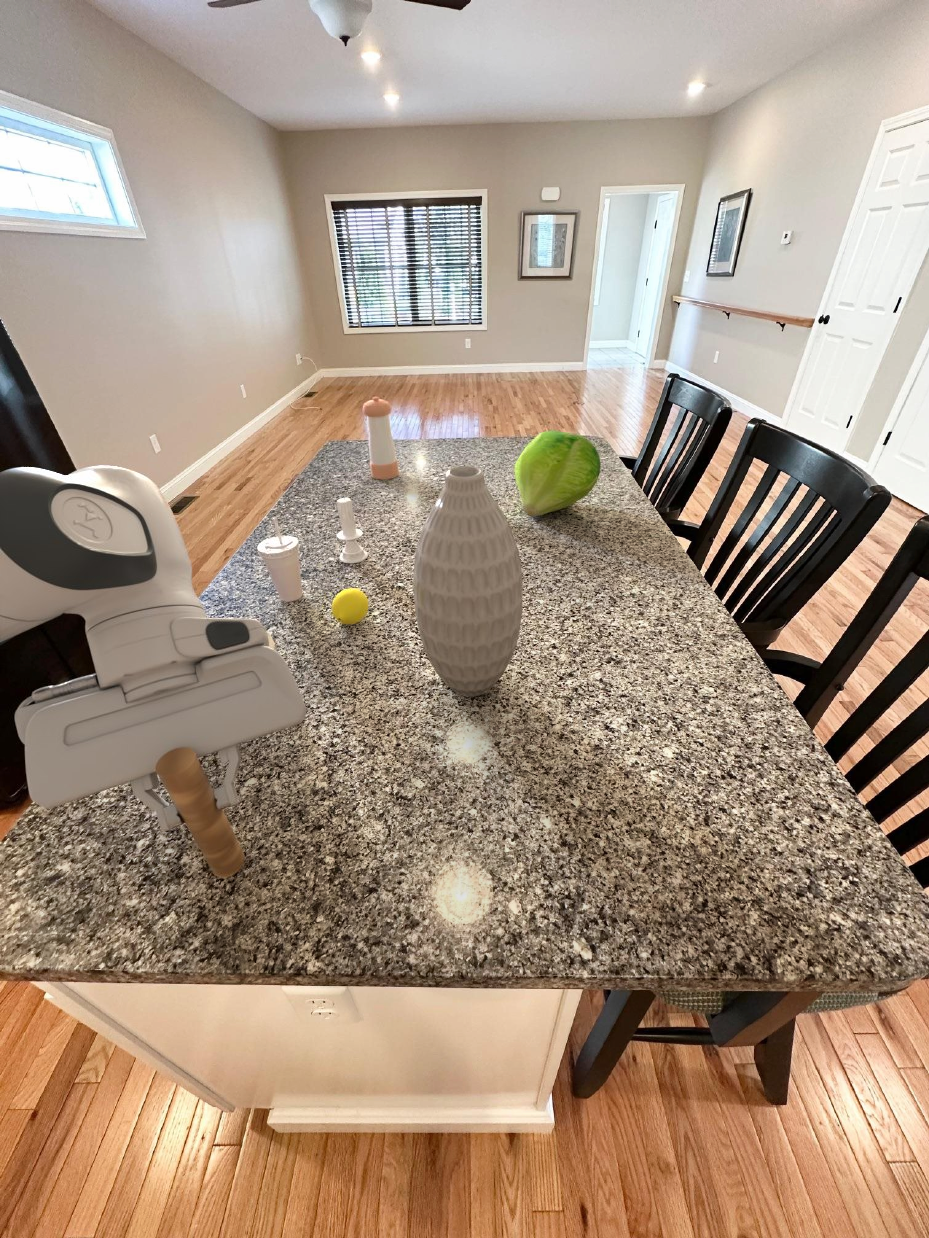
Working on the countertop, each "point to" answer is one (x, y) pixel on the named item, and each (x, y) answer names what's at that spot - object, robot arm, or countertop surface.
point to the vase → (468, 585)
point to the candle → (349, 533)
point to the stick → (200, 810)
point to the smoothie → (283, 564)
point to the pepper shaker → (380, 439)
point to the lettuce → (556, 471)
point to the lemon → (350, 606)
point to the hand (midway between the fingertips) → (202, 816)
